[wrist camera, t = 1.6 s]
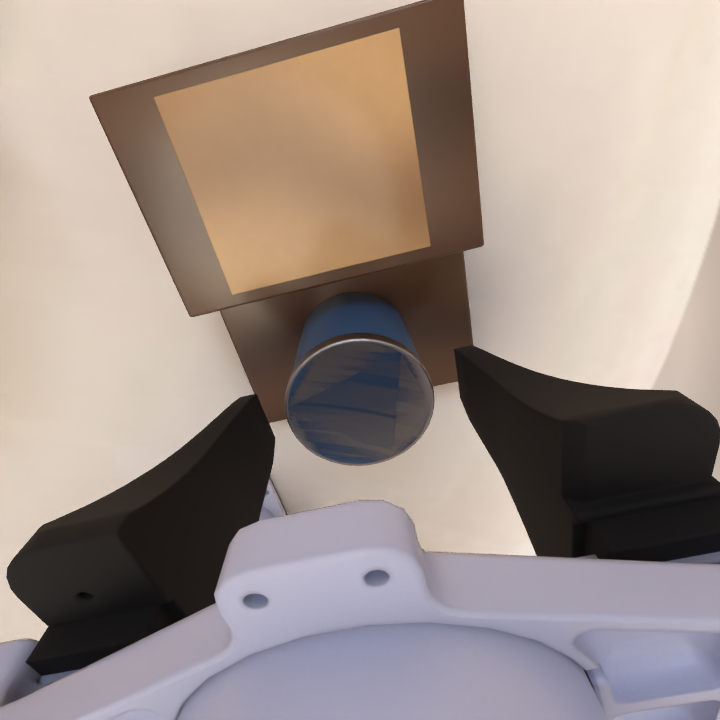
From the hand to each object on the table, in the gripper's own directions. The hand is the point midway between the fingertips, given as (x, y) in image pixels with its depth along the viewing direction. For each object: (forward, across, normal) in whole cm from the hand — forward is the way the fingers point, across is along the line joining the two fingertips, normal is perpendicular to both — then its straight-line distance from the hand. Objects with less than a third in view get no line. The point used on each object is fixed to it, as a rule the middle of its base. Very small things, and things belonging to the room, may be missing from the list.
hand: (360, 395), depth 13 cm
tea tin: (+5, 0, 0) cm, 5 cm away
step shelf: (+6, 0, -4) cm, 7 cm away
